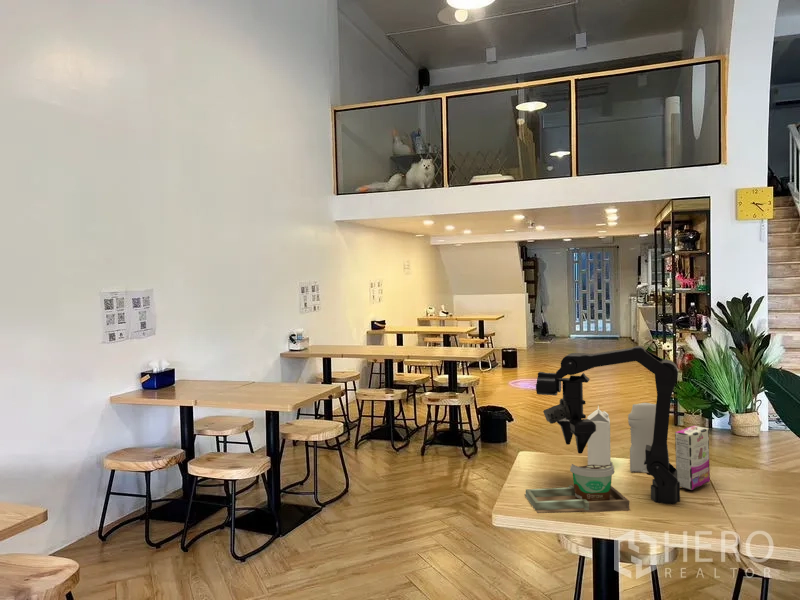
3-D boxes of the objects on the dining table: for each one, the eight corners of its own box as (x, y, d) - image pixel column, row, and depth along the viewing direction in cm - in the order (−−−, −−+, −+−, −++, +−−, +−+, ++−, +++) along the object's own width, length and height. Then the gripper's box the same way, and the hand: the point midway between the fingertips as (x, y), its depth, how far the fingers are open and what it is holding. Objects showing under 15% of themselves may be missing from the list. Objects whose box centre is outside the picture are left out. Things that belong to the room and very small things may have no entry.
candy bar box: (693, 477, 177) (693, 424, 177) (710, 482, 173) (710, 428, 173) (674, 486, 171) (674, 431, 170) (691, 490, 167) (691, 434, 166)
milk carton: (587, 466, 190) (587, 409, 189) (587, 460, 197) (587, 404, 196) (610, 468, 188) (610, 410, 187) (610, 461, 194) (609, 405, 194)
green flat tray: (609, 492, 167) (609, 483, 167) (629, 510, 154) (629, 500, 154) (524, 496, 166) (524, 487, 165) (537, 514, 153) (537, 505, 152)
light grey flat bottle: (659, 468, 186) (659, 401, 185) (665, 472, 182) (664, 403, 181) (626, 468, 187) (625, 401, 186) (631, 473, 183) (630, 404, 182)
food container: (578, 507, 155) (578, 470, 155) (570, 499, 161) (569, 463, 161) (623, 505, 156) (622, 468, 156) (612, 496, 162) (612, 461, 162)
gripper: (535, 391, 178) (537, 441, 179) (557, 404, 160) (558, 460, 160) (570, 390, 179) (571, 439, 180) (596, 402, 161) (597, 457, 161)
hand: (573, 448), depth 170 cm, fingers open, 9 cm apart
